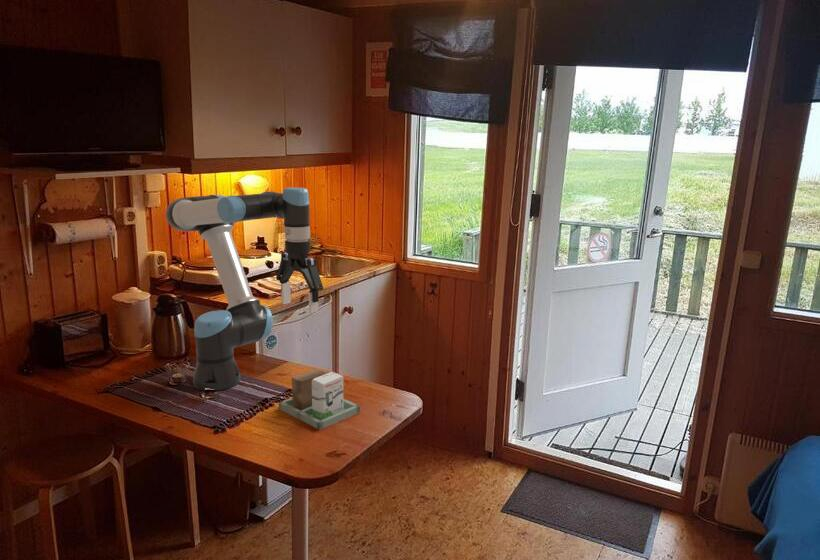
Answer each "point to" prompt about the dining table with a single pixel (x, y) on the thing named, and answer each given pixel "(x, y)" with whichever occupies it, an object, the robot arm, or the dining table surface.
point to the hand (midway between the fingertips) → (299, 307)
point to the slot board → (307, 417)
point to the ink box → (327, 395)
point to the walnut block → (304, 388)
